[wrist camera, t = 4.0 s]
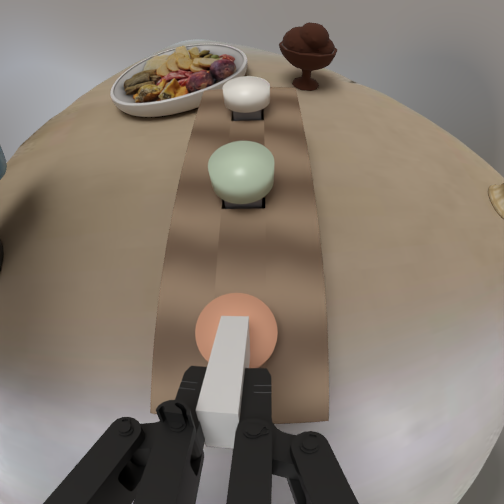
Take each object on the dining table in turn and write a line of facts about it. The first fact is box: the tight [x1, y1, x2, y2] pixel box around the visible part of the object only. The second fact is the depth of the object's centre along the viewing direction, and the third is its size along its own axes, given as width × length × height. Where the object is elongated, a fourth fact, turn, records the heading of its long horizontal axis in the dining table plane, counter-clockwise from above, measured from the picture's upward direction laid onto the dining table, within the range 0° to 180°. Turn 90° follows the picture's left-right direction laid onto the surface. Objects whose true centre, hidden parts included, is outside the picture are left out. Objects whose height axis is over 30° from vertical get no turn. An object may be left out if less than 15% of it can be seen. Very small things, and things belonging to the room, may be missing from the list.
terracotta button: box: [195, 293, 278, 368], centre depth 19 cm, size 5×5×6 cm
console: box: [150, 87, 329, 424], centre depth 28 cm, size 36×12×10 cm, turn 179°
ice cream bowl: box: [279, 23, 337, 91], centre depth 41 cm, size 11×11×15 cm
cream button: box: [223, 76, 270, 121], centre depth 28 cm, size 5×5×6 cm
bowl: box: [111, 44, 247, 117], centre depth 47 cm, size 30×30×8 cm
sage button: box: [208, 141, 274, 209], centre depth 22 cm, size 5×5×6 cm
